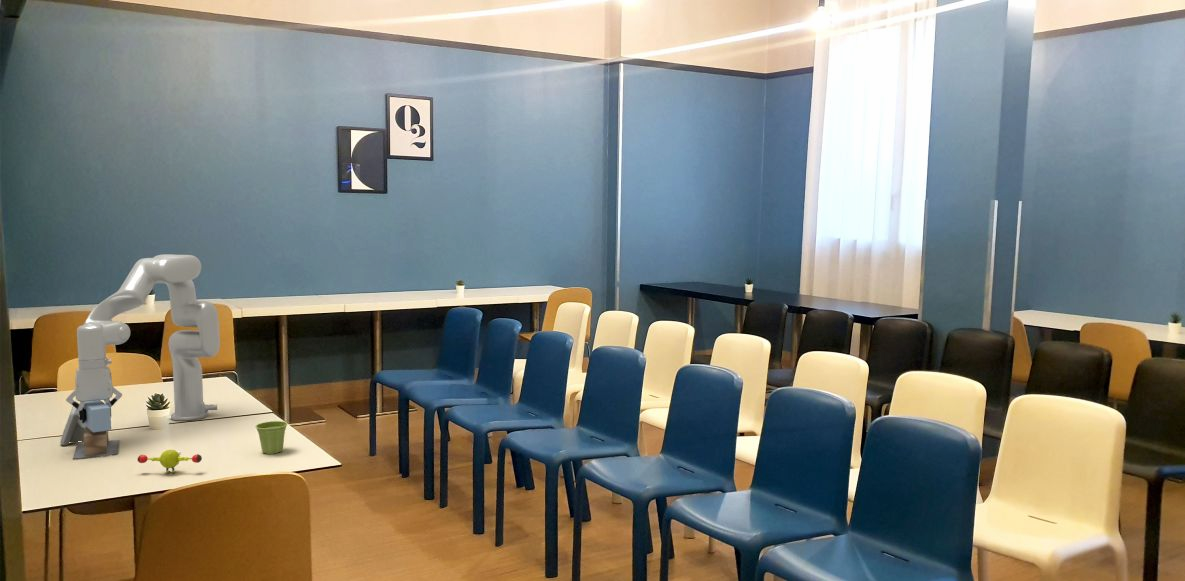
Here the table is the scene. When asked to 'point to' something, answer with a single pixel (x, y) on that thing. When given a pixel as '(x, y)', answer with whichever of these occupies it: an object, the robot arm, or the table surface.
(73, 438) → the digital clock
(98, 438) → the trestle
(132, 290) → the robot arm
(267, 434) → the plant pot
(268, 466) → the table surface
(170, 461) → the toy figure
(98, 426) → the lintel
